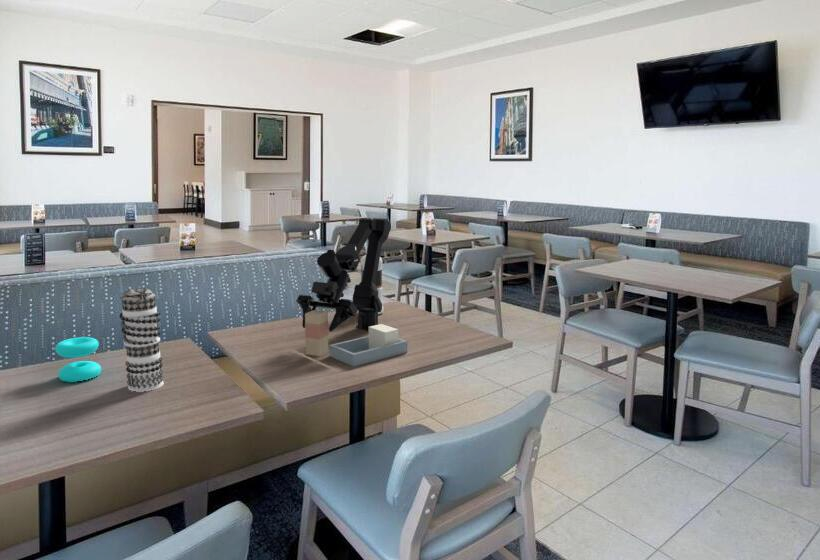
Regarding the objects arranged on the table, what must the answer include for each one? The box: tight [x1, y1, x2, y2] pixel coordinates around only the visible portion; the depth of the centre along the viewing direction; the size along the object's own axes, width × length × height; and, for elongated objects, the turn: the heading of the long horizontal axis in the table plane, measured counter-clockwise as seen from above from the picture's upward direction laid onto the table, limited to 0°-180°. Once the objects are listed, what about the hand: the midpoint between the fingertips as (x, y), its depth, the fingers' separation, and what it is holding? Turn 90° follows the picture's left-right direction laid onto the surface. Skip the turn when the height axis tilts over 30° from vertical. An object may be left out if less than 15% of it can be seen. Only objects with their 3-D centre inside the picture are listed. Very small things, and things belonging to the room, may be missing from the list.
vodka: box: [359, 240, 385, 316], centre depth 222 cm, size 9×9×30 cm
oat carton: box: [304, 309, 330, 357], centre depth 173 cm, size 5×5×13 cm
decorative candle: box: [118, 287, 165, 393], centre depth 146 cm, size 9×9×25 cm
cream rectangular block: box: [368, 323, 399, 349], centre depth 176 cm, size 5×8×7 cm, turn 42°
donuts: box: [54, 336, 102, 383], centre depth 154 cm, size 10×10×10 cm
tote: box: [328, 335, 408, 367], centre depth 173 cm, size 20×12×4 cm, turn 132°
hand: (316, 329), depth 173 cm, fingers open, 9 cm apart
